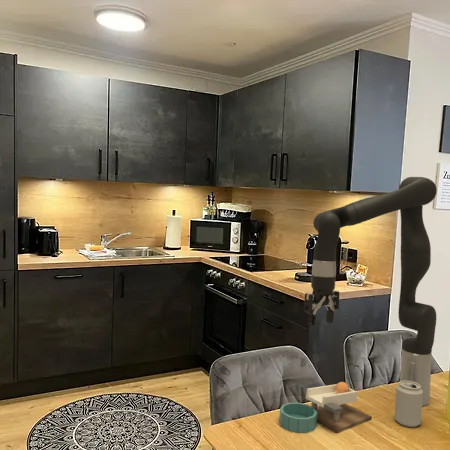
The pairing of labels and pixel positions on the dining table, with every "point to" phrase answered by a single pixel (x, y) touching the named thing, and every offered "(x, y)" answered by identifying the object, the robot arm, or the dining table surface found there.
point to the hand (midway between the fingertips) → (320, 323)
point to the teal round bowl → (298, 417)
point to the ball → (342, 387)
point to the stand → (340, 417)
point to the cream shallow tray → (330, 397)
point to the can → (408, 403)
